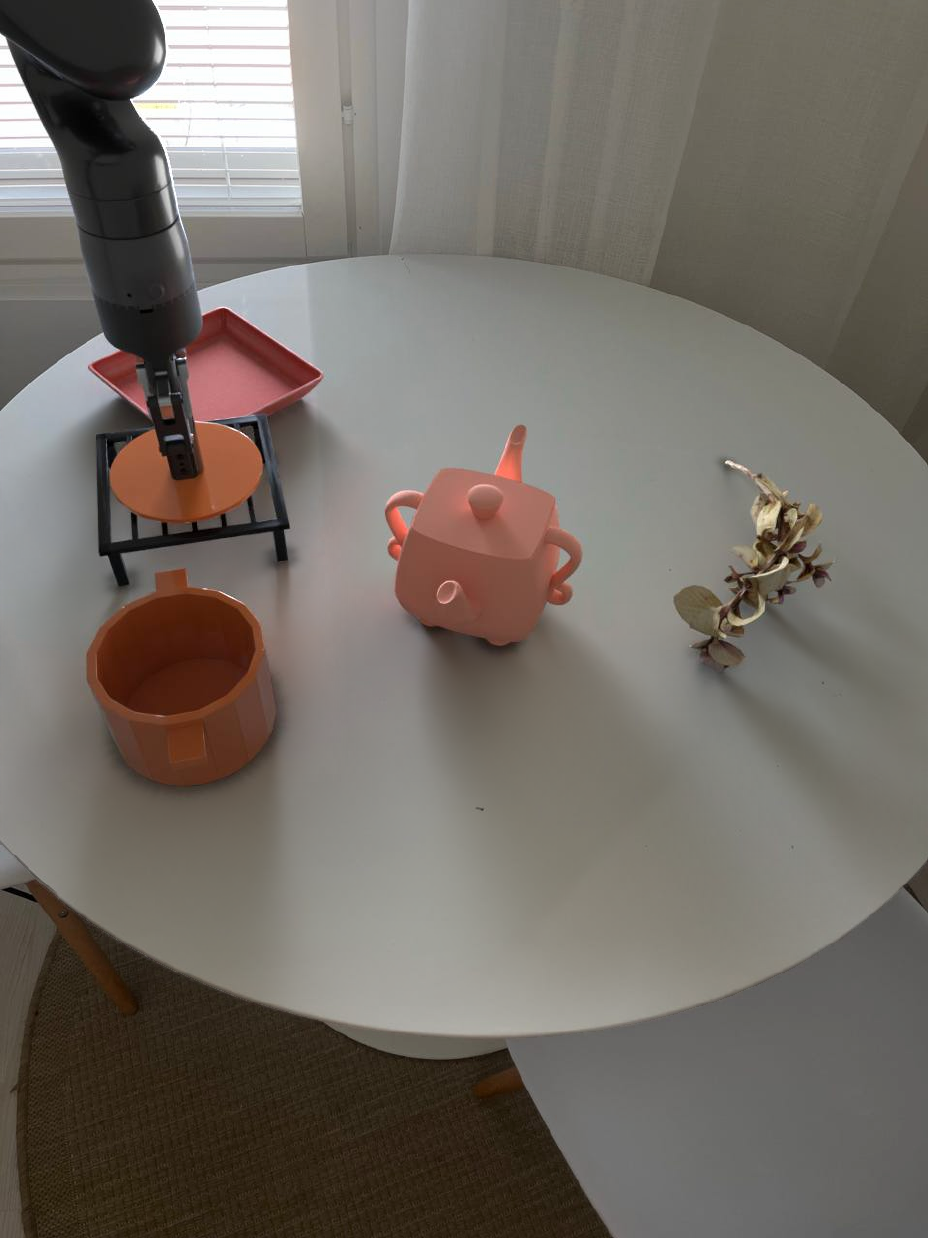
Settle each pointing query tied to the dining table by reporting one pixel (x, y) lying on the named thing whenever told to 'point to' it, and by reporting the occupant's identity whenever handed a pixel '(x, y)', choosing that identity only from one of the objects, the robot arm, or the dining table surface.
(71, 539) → the dining table surface
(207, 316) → the plant saucer
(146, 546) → the rack
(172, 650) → the pot
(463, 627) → the teapot
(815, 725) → the dining table surface
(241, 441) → the lid
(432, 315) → the dining table surface
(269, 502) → the dining table surface
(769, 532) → the artificial flower
